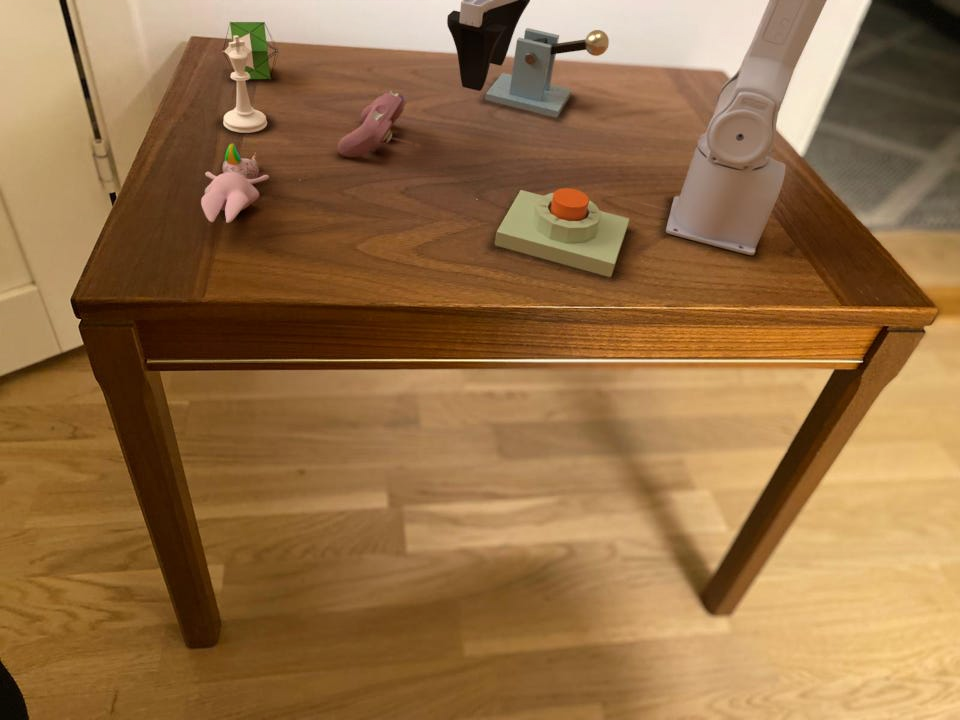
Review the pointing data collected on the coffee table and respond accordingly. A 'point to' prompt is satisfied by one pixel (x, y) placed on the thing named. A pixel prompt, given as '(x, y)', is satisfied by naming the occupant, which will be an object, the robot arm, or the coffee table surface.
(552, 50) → the switch lever
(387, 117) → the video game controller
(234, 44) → the chess piece
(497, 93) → the switch bracket
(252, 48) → the geometric puzzle
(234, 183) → the pink plush unicorn
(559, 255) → the button block
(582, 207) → the button
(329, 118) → the coffee table surface
